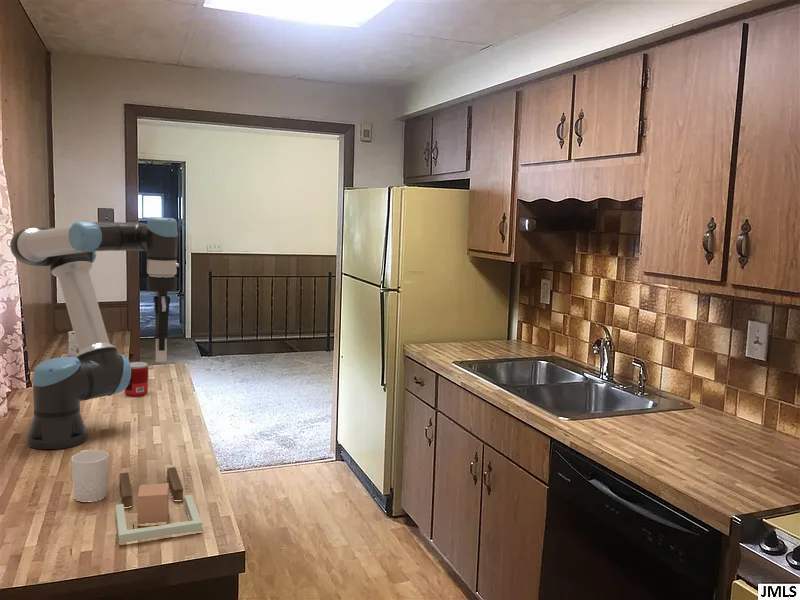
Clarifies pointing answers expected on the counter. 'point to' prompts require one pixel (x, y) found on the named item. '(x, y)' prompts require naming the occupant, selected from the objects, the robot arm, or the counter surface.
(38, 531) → the counter surface
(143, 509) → the block
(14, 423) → the counter surface
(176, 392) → the counter surface
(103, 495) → the white cup
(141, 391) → the canned food
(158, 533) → the bay
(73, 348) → the candy bar box
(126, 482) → the chute
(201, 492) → the counter surface
